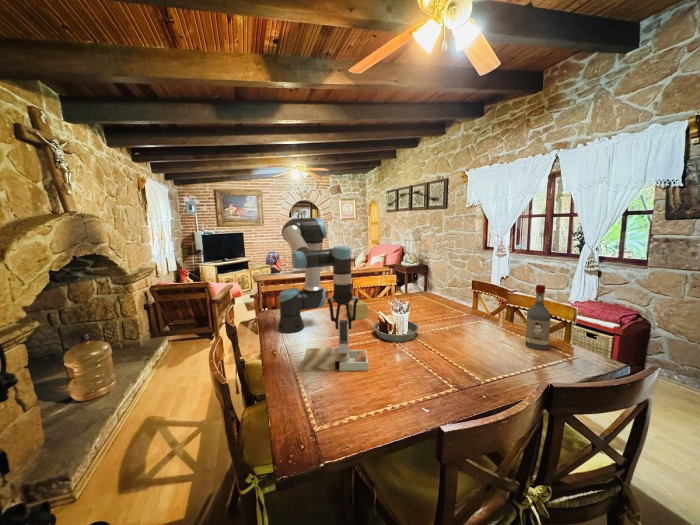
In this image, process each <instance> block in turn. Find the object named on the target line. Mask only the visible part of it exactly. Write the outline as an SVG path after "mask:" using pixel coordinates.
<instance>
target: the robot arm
mask: <svg viewBox="0 0 700 525" xmlns="http://www.w3.org/2000/svg"><path fill="white" fill-rule="evenodd" d="M327 234H328V233H327V226H326V224H325V221H324V220H323V219H322V218H320V217H303V218H301V217H300V218H292V219H290V220H288V221H286V222H285V223H284V225H283V226H282V228H281V235H282V238H283V240H284V241H285V242H287V243H288V245H289V247H290V249H291V251H292V254H291V264H292V266H293V268H294V269H298V270H299V269H300V270H301V269H302V270H303V269H304V270H305V271H304V273H305V274H304V275H305V276H304V279H305V280H304V281H305V282H304V284H303V285H302V289H299V288H298V287H291V288H287V289H284V290H282V291H280V293H279V296H278V297H279V298H278V301H279V317H280V318H279V321H278V324H277V331H278V332H280V333H283V334H293V333H298V332H300V331H302V330H304V329H305V323H304V320H303V317H302V315H301V311H305V310H312V309H313V310H314V309H319V308H323V306H324V305H325V303H326V297H327V296H326V290H325V288H324V287H323V285H322V284H321V268H324V267H325V268H326V267H332V270H333V274H332V275H333V276H332V277H333V294H332V296H330V297H327V303H328V306H329V314H330V321H331V322H334V323H335V327H334V328H335V330H338V331H337V334H338V336H337V337H338V338H339V337H340V320H339V318H340V311H341V306H343V305H344V306H345V310H346V314H347V315H346V316H347V319H346V320H347V337H348V338H350V334H349V333H350V331H349V330H352V322H354V321H356V320H355V318H356V305H357V302H358V300H359V297H357V296H354V295H353V293H352V252H351V251H352V250H351V247H350V246H348V245H347V246H346V245H337V246H333V247H332V248H328V249H327V248H326V249H321V246H322V244H323V243H324V239H326V238H327ZM334 301H335V303H336V304H337V306H336V312H335V314H334V307H333V306H334V305H333V302H334ZM352 301H353V302H354V303H353V317H351V316H350V310H349V303H350V302H352ZM334 315H335V316H334Z"/></svg>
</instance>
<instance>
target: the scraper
mask: <svg viewBox="0 0 700 525" xmlns="http://www.w3.org/2000/svg"><path fill="white" fill-rule="evenodd" d="M347 320H348V319H340V320H339V321H340V337H338V348H339V353H349V350H350V349H349V350H348V347H349V337H347Z"/></svg>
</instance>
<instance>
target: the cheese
mask: <svg viewBox="0 0 700 525" xmlns="http://www.w3.org/2000/svg"><path fill="white" fill-rule="evenodd" d="M353 303H354V302H353V300H351V301H350V302H349V303H348V304H349V310H350V316H351V317H353ZM368 309H369V308H368V303H366V301H364V300H362V299H358V302H357V305H356V318H355V321H356V320H362V319H367V318H368V312H369V311H368Z"/></svg>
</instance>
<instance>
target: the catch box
mask: <svg viewBox="0 0 700 525" xmlns="http://www.w3.org/2000/svg"><path fill="white" fill-rule="evenodd" d="M362 350H363V351H364V352H365V353H366V358H367V359H365V360H364V361H363V362H355V357H356V356H357V355H358V354H359V353H360V352H361V351H362ZM362 371H363V372H367V371H369V357H368V351H367V349H356V350H355V349H354V350H353V349H352V350H351V349H349V361H339V372H362Z"/></svg>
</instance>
